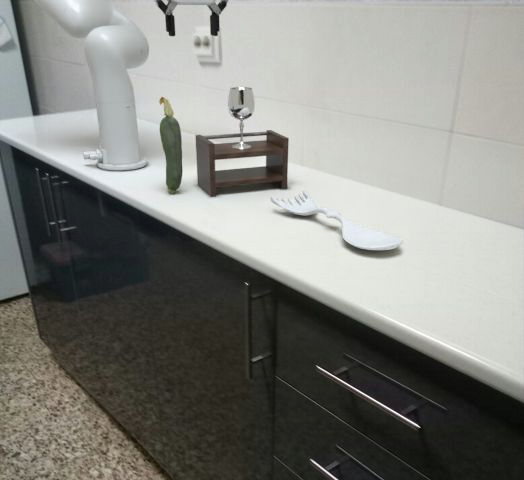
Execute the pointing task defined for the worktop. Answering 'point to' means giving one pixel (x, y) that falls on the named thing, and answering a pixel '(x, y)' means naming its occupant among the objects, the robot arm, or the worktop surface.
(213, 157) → the rack
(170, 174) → the vegetable
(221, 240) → the worktop surface
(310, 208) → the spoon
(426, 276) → the worktop surface
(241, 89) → the wineglass
